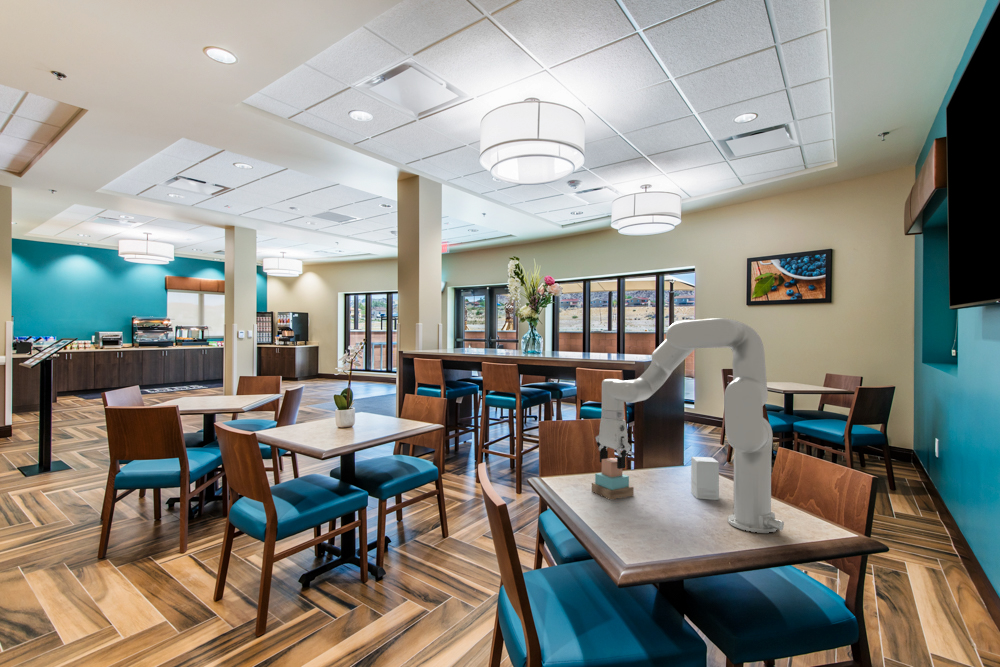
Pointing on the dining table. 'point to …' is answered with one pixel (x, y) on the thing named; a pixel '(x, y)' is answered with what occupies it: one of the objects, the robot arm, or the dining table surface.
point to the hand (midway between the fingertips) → (612, 464)
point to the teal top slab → (612, 481)
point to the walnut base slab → (613, 491)
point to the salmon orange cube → (610, 467)
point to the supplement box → (705, 478)
